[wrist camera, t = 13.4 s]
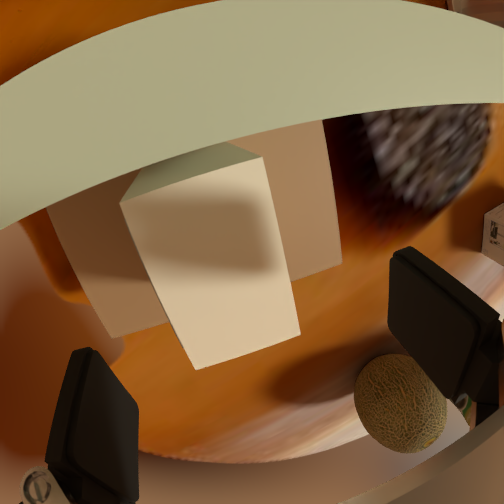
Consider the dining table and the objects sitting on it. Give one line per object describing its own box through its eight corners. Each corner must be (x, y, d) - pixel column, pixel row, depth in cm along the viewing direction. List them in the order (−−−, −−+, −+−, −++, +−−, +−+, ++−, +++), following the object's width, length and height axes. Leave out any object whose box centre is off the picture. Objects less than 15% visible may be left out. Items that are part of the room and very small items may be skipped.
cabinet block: (225, 141, 17) (262, 157, 10) (256, 260, 21) (300, 334, 14) (138, 169, 17) (112, 205, 9) (181, 284, 20) (190, 371, 13)
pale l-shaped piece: (290, 76, 22) (529, 39, 4) (320, 231, 28) (486, 383, 10) (49, 151, 19) (-156, 257, 2) (111, 299, 26) (78, 519, 8)
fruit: (415, 328, 38) (482, 397, 25) (393, 383, 43) (442, 449, 29) (348, 345, 36) (414, 436, 22) (331, 402, 40) (377, 483, 27)
